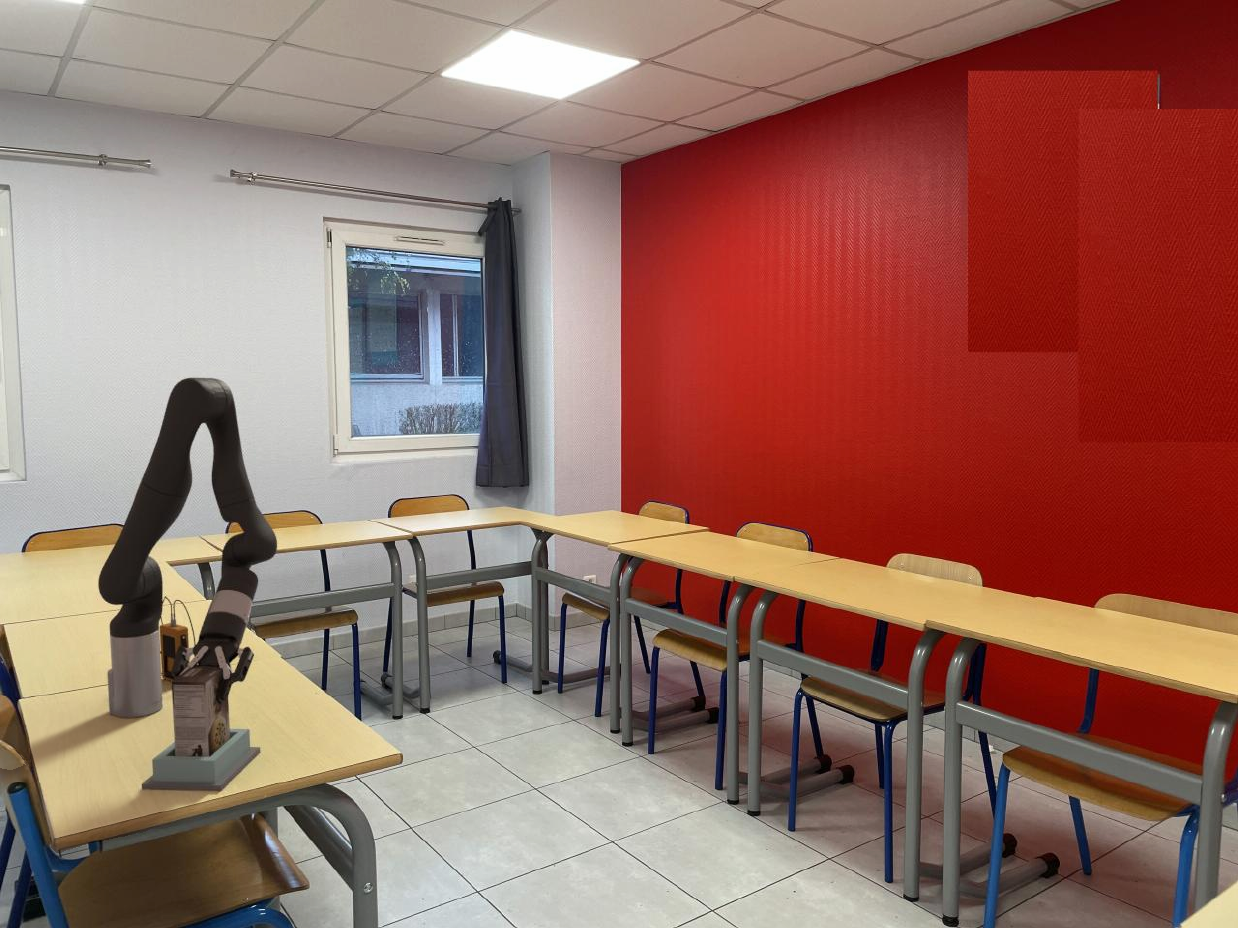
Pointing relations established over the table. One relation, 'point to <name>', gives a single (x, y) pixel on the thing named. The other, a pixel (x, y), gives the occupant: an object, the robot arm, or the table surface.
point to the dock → (202, 766)
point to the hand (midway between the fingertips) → (199, 700)
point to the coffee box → (199, 712)
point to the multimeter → (172, 642)
